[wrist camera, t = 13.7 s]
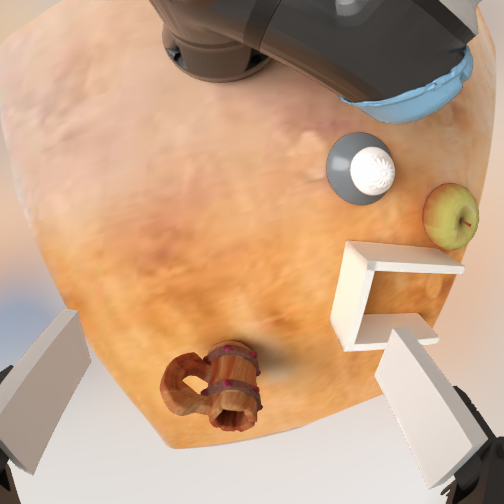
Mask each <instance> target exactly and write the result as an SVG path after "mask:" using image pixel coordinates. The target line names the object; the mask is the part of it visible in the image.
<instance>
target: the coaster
mask: <svg viewBox="0 0 504 504" xmlns="http://www.w3.org/2000/svg"><path fill="white" fill-rule="evenodd" d="M367 147H377V148H380V149H382V150H384V151H385V152H386V153H387V154H388V155H389V156H390V158H391V155H390V153H389V151H388V149H387V147H386V146H385V145H384V144H383V143H382V142H381V141H380V140H379V139H378V138H376V137H375V136H372V135H370V134H367V133H351V134H348V135H346V136H344V137H342V138H341V139H339V140H338V141H337V142H336V143H335V144H334V145H333V147H332V149H331V150H330V153H329V155H328V158H327V166H326V170H327V177H328V180H329V183H330V185H331V187H332V189H333V190H334V191H335V193H336V194H337V195H338V196H339V197H341V198H342V199H343V200H345V201H347V202H349V203H352V204H356V205H367V204H371V203H373V202H375V201H377V200H378V199H380V198H381V197H382V196H383V195H384V194H385V193H386V192H387V191H385V192H384V193H382V194H379V195H367V194H365V193H363V192H361V191H360V190H359V189H358V188H357V187H356V186H355V184H354V182H353V180H352V177H351V175H350V174H351V171H350V169H351V167H350V166H351V163H352V160H353V157H355V155H356V154H357V153H358V152H359V151H361V150H362V149H364V148H367ZM391 159H392V158H391Z"/></svg>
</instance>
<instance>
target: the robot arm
mask: <svg viewBox="0 0 504 504" xmlns="http://www.w3.org/2000/svg"><path fill="white" fill-rule="evenodd" d="M149 1H150V3H151V4H152V6H153V7H154V9H155V10H156V12H157V13H158V15H159V16H160V18H161V19H162V21H163V22H164V25H163V32H162V38H163V44H164V48H165V50H166V52H167V54H168V56H169V57H170V59H171V60H172V61H173V63H174V64H175V65H176V66H177V67H178V68H179V69H180V70H181V71H183V72H184V73H186V74H187V75H189V76H191V77H194V78H196V79H199V80H203V81H208V82H231V81H236V80H240V79H243V78H245V77H248V76H250V75H252V74H254V73H256V72H257V71H259V70H260V69H262V68H263V67H264V66H265V65H266V64H267V63H268V62H269V61H270V60H271V59H272V58H273V59H275V60H277V61H279V62H281V63H283V64H285V65H287V66H289V67H291V68H292V69H294V70H296V71H298V72H300V73H302V74H303V75H305V76H307V77H309V78H310V79H312V80H314V81H315V82H317V83H319V84H320V85H322V86H324V87H325V88H327V89H329V90H330V91H332V92H333V93H335V94H337V95H338V97H339V99H341V100H342V101H343V102H345V103H347V104H349V105H353V106H356V107H357V108H359V109H360V110H362V111H363V112H365V113H366V114H368V115H369V116H371V117H372V118H374V119H376V120H378V121H381V122H386V123H390V124H405V123H410V122H414V121H417V120H420V119H422V118H425V117H427V116H429V115H431V114H432V113H434V112H436V111H438V110H439V109H441V108H442V107H443V106H445V105H446V104H447V103H449V102H450V101H451V100H452V99H453V98H454V97H455V96H456V95H457V94H458V93H459V92H460V91H461V89H462V88H463V86H462V82H464V81H466V80H468V79H469V77H470V75H471V72H472V69H473V58H472V55H471V53H470V49H469V47H468V45H467V43H468V42H469V41H470V40H472V39H473V38H474V37H475V36H476V35H477V34H478V25H477V17H476V6H477V4H478V3H479V2H480V1H481V0H149ZM90 363H91V358H90V355H89V352H88V348H87V345H86V341H85V337H84V333H83V329H82V325H81V321H80V317H79V313H78V311H76V310H70V309H63V310H62V311H61V312H60V313H59V314H58V315H57V317H56V318H55V319H54V320H53V321H52V322H51V323H50V324H49V325H48V327H47V328H46V329H45V330H44V331H43V332H42V333H41V335H40V336H39V337H38V338H37V339H36V340H35V342H34V343H33V344H32V345H31V346H30V348H29V349H28V350H27V351H26V352H25V353H24V355H23V356H22V357H21V359H20V360H19V361H18V362H17V363H16V365H15V366H12V365H10V366H9V367H7V368H6V369H4V370H3V371H1V372H0V504H21V503H20V500H19V497H18V494H17V491H16V487H15V484H14V480H13V477H12V473H11V469H10V467H9V465H8V464H7V462H8V460H9V459H10V460H11V461H12V462H13V463H14V464H15V465H16V466H17V467H18V468H20V469H22V470H24V471H25V472H28V473H29V474H31V475H34V473H35V470H36V468H37V466H38V463H39V461H40V459H41V457H42V455H43V452H44V450H45V448H46V446H47V444H48V442H49V440H50V438H51V436H52V433H53V432H54V430H55V428H56V426H57V424H58V422H59V420H60V418H61V416H62V414H63V412H64V410H65V408H66V406H67V404H68V402H69V400H70V399H71V397H72V395H73V393H74V391H75V390H76V388H77V386H78V384H79V382H80V381H81V379H82V377H83V375H84V373H85V372H86V370H87V368H88V367H89V365H90ZM374 376H375V378H376V380H377V382H378V384H379V386H380V388H381V390H382V392H383V394H384V396H385V397H386V399H387V402H388V403H389V406H390V408H391V409H392V412H393V413H394V416H395V417H396V419H397V422H398V424H399V426H400V428H401V430H402V432H403V434H404V436H405V438H406V440H407V442H408V445H409V447H410V449H411V451H412V453H413V456H414V458H415V460H416V462H417V464H418V467H419V469H420V471H421V473H422V476H423V478H424V480H425V482H426V485H427V487H428V489H431V488H434V487H436V486H438V485H441V484H443V483H445V482H446V481H447V480H448V479H449V478H450V477H451V476H453V475H454V476H455V478H456V479H455V480H454V481H453V482H452V483H451V484H450V485H448V486H447V487H446V488H445V489H444V490H443V491H442V492H441V495H443V494H445V493H446V492H447V491H448V490H449V489H450V492H449V493H448V494H447V495H446V496H448V498H447V501H446V504H504V437H498V438H497V437H496V436H495V435H494V434H493V432H492V431H491V429H490V428H489V426H488V425H487V423H486V422H485V420H484V419H483V417H482V416H481V414H480V413H479V411H477V410H476V407H475V406H474V404H472V403H471V400H470V399H469V397H468V396H467V395H466V393H465V392H463V391H462V390H461V389H459V388H458V387H457V386H453V387H452V385H451V384H450V383H449V381H448V380H447V378H446V377H445V376H444V374H443V373H442V372H441V370H440V369H439V368H438V366H437V365H436V364H435V362H434V361H433V360H432V358H431V357H430V356H429V354H428V353H427V352H426V351H425V349H424V348H423V347H422V345H421V344H420V343H419V342H418V340H417V339H416V338H415V337H414V335H413V334H412V333H411V332H410V330H409V329H408V328H407V327H403V328H393V329H392V332H391V335H390V338H389V340H388V343H387V346H386V348H385V351H384V353H383V356H382V358H381V361H380V363H379V366H378V368H377V370H376V373H375V375H374Z"/></svg>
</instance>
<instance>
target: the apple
mask: <svg viewBox="0 0 504 504" xmlns="http://www.w3.org/2000/svg"><path fill="white" fill-rule="evenodd" d="M478 222H479V210H478V206H477V203H476V200H475V198H474V197H473V195H472V194H471V193H470V192H469V190H468V189H467V188H464V187H462V186H460V185H457V184H454V183H448V184H442V185H441V186H439V187H437V188H436V189H435V190H433V191H432V192H431V194H430V195H429V196H428V198H427V199H426V202H425V205H424V208H423V224H424V229H425V231H426V234H427V235H428V237H429V238H430V240H431V241H432V242H433V243H434V244H436V245H438V246H439V247H441V248H443V249H445V250H456V249H459V248H461V247H463V246H465V245H466V244H468V243H469V241H470V240H471V239H472V238H473V236H474V234H475V232H476V230H477V227H478Z"/></svg>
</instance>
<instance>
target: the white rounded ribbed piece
mask: <svg viewBox="0 0 504 504" xmlns="http://www.w3.org/2000/svg"><path fill="white" fill-rule="evenodd" d="M350 167H351V169H350V171H351V174H350V175H351V177H352V180H353V182H354V184H355V186H356V187H357V188H358V189H359V190H360V191H361V192H363V193H365V194H367V195H379V194H382V193H384V192H385V191H387V190H388V189H389V188H390V187H391V185H392V183H393V181H394V177H395V167H394V164H393V161H392V159H391V158H390V156H389V155H388V154H387V153H386V152H385V151H384V150H382V149H380V148H377V147H367V148H364V149H362V150H361V151H359V152H358V153H357V154H356V155H355V157H353V160H352V163H351V166H350Z"/></svg>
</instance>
